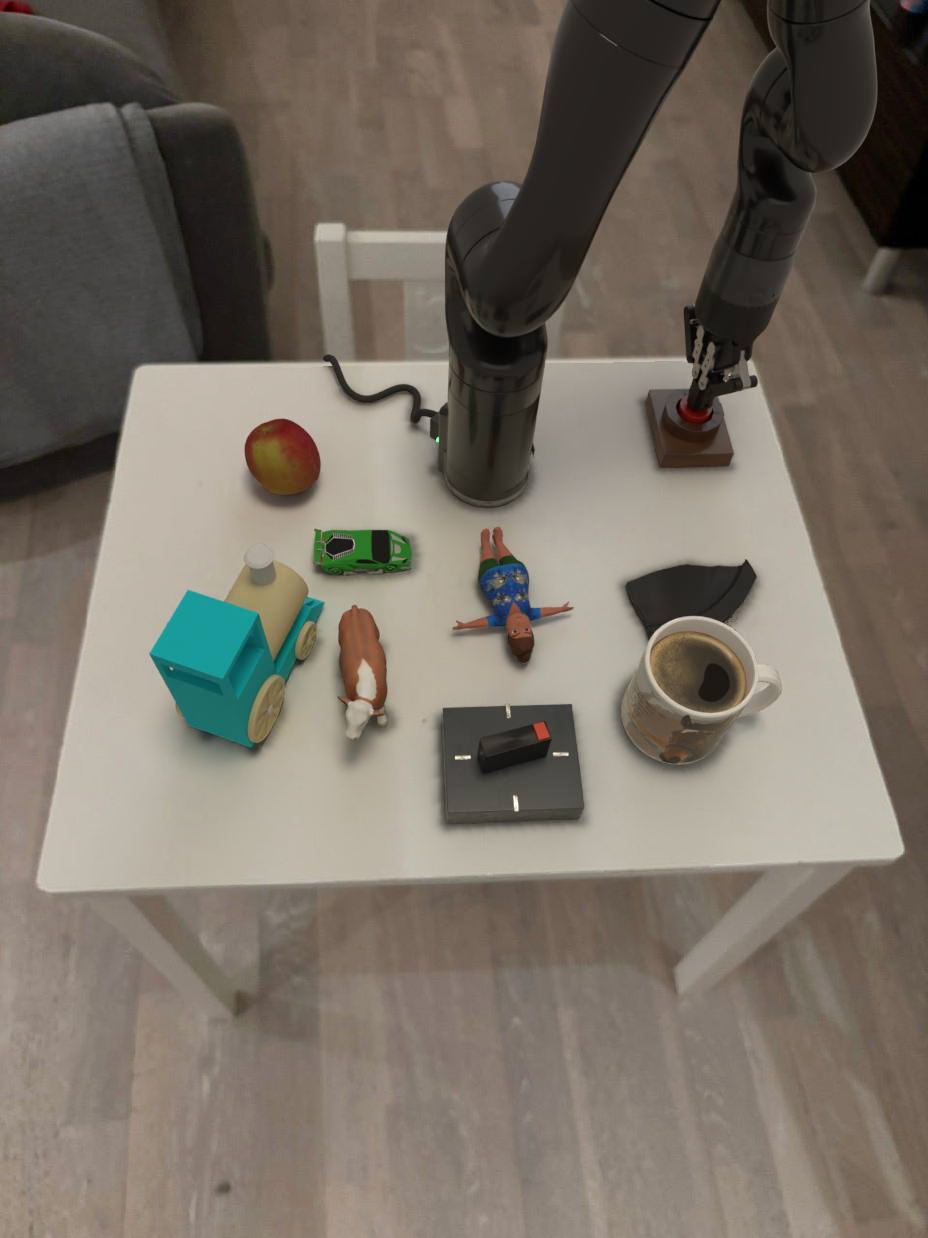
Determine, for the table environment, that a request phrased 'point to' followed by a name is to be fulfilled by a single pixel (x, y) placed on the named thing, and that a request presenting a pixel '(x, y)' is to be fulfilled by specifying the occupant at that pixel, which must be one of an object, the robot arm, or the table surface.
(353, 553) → the toy car
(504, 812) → the dial panel
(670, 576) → the fan shaped piece
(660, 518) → the table surface
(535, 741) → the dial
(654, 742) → the mug
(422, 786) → the table surface
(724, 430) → the button block
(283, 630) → the toy train
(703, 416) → the button
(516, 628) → the toy character
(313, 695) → the table surface
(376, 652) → the bull figurine
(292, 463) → the apple
